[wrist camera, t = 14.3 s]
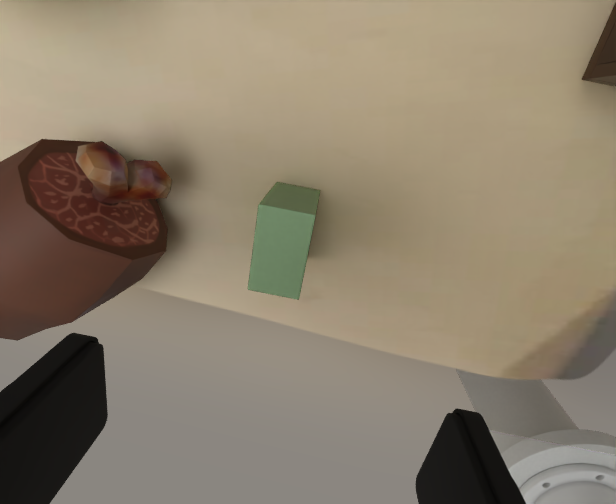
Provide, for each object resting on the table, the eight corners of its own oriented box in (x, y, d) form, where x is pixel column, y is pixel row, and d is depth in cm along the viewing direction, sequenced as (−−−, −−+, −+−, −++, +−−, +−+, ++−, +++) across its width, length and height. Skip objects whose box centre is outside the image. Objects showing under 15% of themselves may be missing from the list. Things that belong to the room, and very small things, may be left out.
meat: (66, 361, 31) (-105, 395, 21) (39, 250, 34) (-121, 237, 24) (231, 253, 24) (93, 235, 15) (180, 129, 28) (38, 49, 18)
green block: (306, 258, 29) (298, 300, 23) (266, 250, 29) (247, 289, 23) (320, 190, 27) (315, 215, 20) (276, 181, 27) (258, 203, 20)
